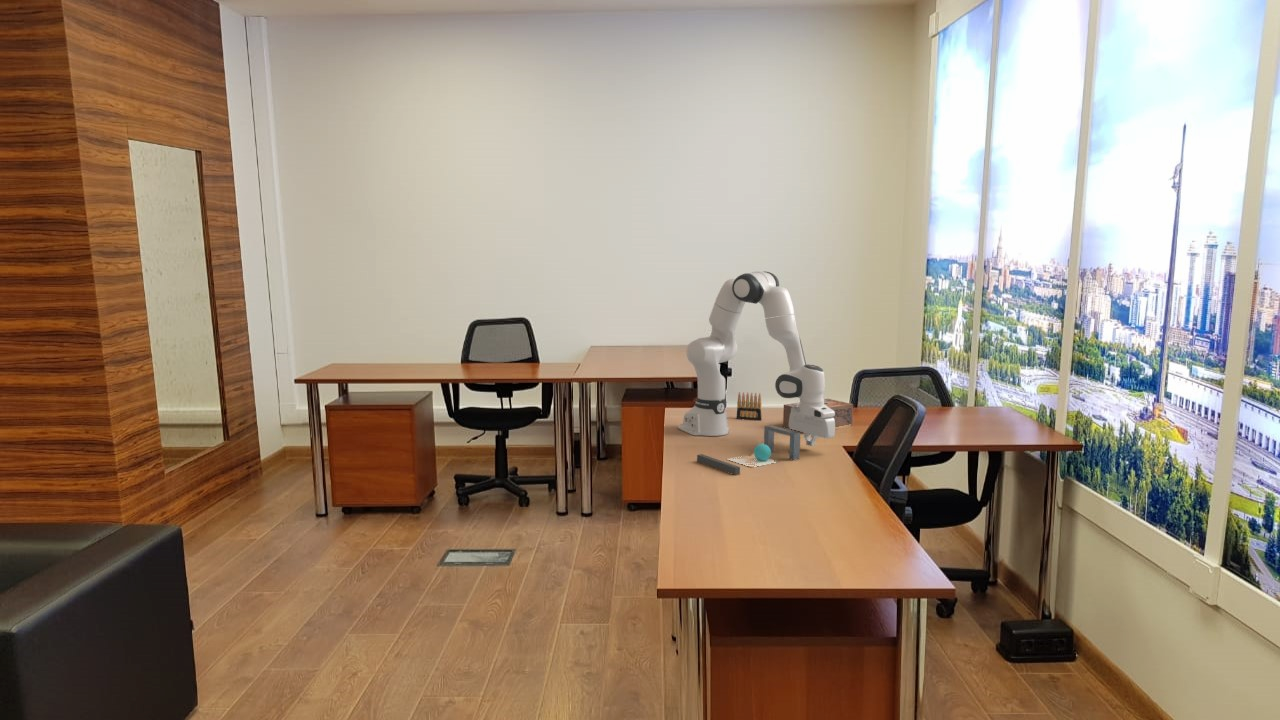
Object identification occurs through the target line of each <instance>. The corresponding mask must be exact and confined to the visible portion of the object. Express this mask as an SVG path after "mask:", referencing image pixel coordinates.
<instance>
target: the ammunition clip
mask: <svg viewBox="0 0 1280 720" xmlns="http://www.w3.org/2000/svg"><path fill="white" fill-rule="evenodd" d="M736 408H737V409H736V418H735V419H736V420H742V419H744V420H745V421H759V422H761V421H762V395H761V392H759V393H758V395H757V392H755V393H754V395H753V392H751V393H750V394H749V392H746V395H745V392H744V391H743V392H742V396H741V392H740V391H739V392H738V394H737V407H736ZM744 420H743V421H744Z"/></svg>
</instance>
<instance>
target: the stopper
mask: <svg viewBox="0 0 1280 720" xmlns="http://www.w3.org/2000/svg"><path fill="white" fill-rule="evenodd" d="M696 462H697V463H699V464H702V465H705V466H707V465H708V466H707V467H710V466H711V467H710V468H713V467H714V468H713V469H716V468H717V469H716V470H719V469H720V470H719V471H722V470H723V471H722V472H725V471H726V472H725V473H727V472H729V473H728V474H730V473H732V474H731V475H733V474H734V475H733V476H738V475H737V474H739V475H740V474H741V466H738V465H735V464H732V463H729V462H726V461H723V460H721V459H717V458H715V457H712V456H708V455H705V454H703V453H700V454H699V453H698V454H697V455H696Z"/></svg>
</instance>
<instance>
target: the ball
mask: <svg viewBox="0 0 1280 720" xmlns="http://www.w3.org/2000/svg"><path fill="white" fill-rule="evenodd" d="M753 454H754V456H755V457H756V459H758V460H760V461H766V460H767V459H770V457H771V455H772V452H771V450H770V448H769V447H768V446H767V445H765V444H764V443H760V444H757V445H756V446H755V447H754V450H753Z"/></svg>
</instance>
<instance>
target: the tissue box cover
mask: <svg viewBox="0 0 1280 720" xmlns="http://www.w3.org/2000/svg"><path fill="white" fill-rule="evenodd" d="M824 404H825V405H826V406H827V407H829V408H830V409H832V410H833V411H834V412H835V416H834V417H833V418H834V420H835V427H839V426H844V425H849V424H852V425H853V417H854V416H853V415H854V404H853V403H850V402H846V401H842V400H836V399H832V398H824ZM794 405H797V406H800V401H799V402H794V403H785V404H783V417H782V428H783V427H785V429H787V428H789V417H790V413H791V408H792V407H793V406H794ZM793 408H794V407H793ZM788 430H791V429H790V428H789V429H788Z"/></svg>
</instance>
